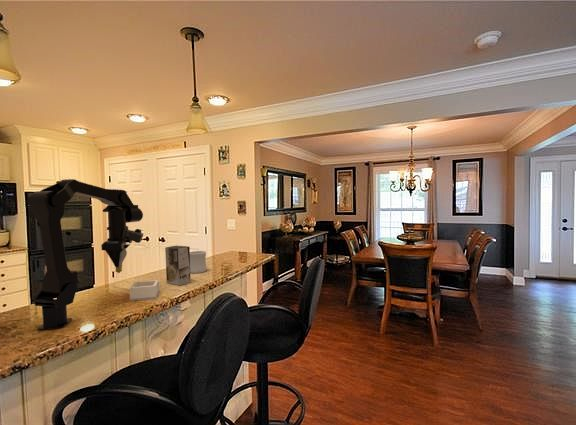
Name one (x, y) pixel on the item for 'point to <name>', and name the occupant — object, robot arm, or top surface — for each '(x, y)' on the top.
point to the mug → (197, 261)
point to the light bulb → (121, 260)
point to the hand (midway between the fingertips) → (118, 265)
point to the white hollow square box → (144, 290)
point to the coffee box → (178, 265)
